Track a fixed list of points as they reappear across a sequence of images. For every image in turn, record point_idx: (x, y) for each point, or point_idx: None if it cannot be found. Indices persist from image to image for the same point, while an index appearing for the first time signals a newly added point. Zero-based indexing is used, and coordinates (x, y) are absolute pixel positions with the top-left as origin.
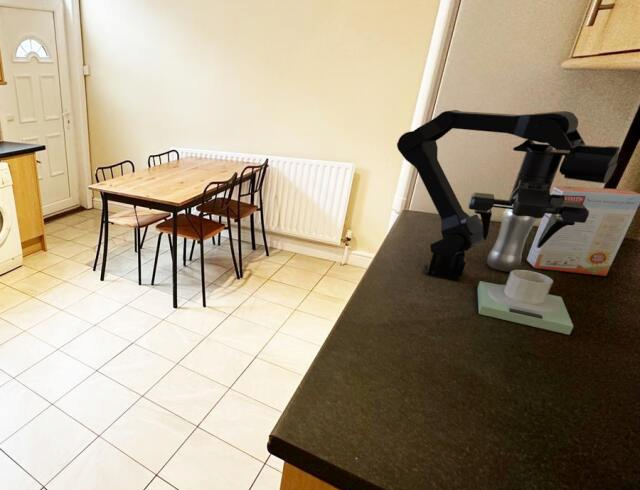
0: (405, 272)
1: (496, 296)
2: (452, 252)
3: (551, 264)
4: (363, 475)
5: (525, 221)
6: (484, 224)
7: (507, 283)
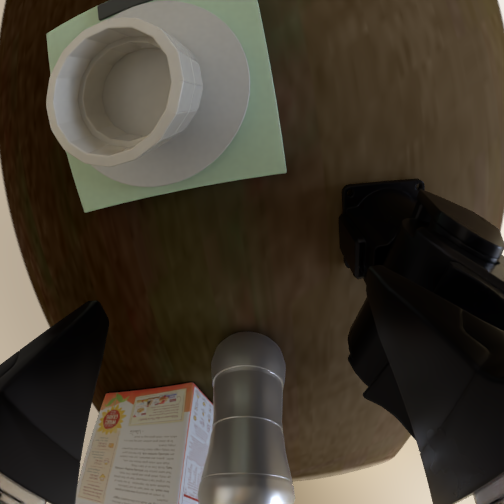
0: (464, 164)
1: (217, 29)
2: (436, 199)
3: (168, 395)
4: None
5: (221, 482)
6: (472, 323)
7: (190, 59)
